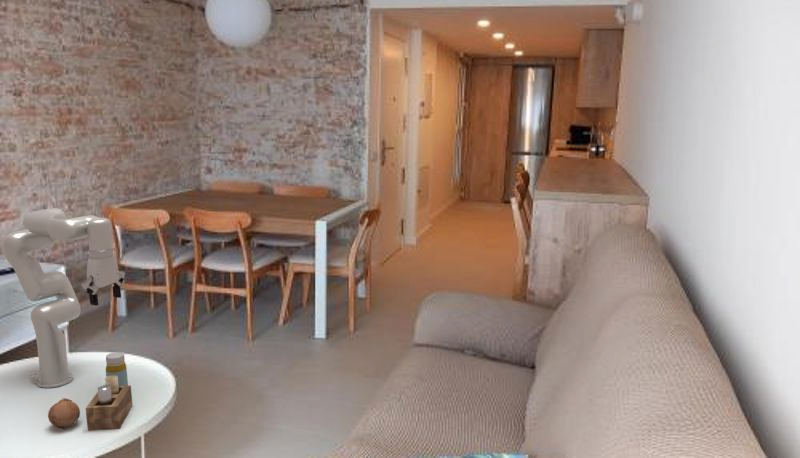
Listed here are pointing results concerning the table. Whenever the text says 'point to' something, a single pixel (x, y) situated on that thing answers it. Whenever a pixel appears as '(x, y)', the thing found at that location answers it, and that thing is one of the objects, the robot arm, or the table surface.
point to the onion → (64, 413)
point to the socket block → (109, 411)
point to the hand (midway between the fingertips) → (106, 301)
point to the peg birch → (112, 383)
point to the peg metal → (104, 395)
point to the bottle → (117, 367)
